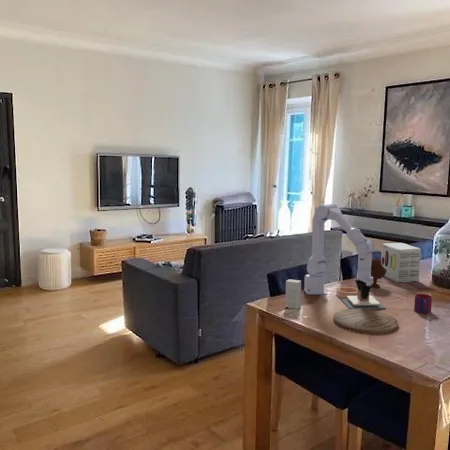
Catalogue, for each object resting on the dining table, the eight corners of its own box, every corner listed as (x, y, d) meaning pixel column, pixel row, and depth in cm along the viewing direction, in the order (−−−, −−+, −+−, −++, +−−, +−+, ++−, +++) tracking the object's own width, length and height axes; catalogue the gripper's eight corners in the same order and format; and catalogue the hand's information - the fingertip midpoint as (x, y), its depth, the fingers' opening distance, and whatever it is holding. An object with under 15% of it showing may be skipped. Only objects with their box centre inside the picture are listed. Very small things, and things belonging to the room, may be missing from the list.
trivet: (320, 320, 189) (320, 316, 189) (359, 309, 204) (359, 304, 204) (371, 340, 170) (372, 335, 169) (410, 325, 184) (411, 321, 184)
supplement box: (379, 274, 261) (381, 243, 259) (400, 273, 264) (402, 242, 262) (397, 283, 245) (399, 249, 242) (419, 281, 248) (421, 248, 245)
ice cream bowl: (389, 289, 232) (390, 260, 230) (366, 289, 232) (368, 260, 230) (382, 283, 243) (384, 255, 240) (361, 283, 243) (362, 255, 241)
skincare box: (301, 306, 206) (301, 280, 204) (298, 309, 202) (299, 282, 200) (287, 304, 208) (288, 278, 207) (284, 307, 205) (285, 281, 203)
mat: (348, 309, 203) (349, 307, 202) (341, 299, 215) (341, 298, 215) (385, 309, 203) (385, 307, 203) (375, 299, 216) (375, 298, 216)
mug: (430, 309, 202) (431, 294, 201) (431, 317, 193) (432, 301, 192) (414, 307, 205) (415, 293, 204) (414, 315, 196) (415, 299, 195)
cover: (353, 305, 203) (354, 294, 202) (346, 297, 215) (346, 287, 214) (380, 305, 203) (380, 294, 202) (371, 297, 215) (372, 287, 214)
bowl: (340, 299, 217) (340, 292, 216) (335, 292, 227) (335, 286, 226) (361, 299, 217) (361, 292, 217) (355, 292, 227) (355, 286, 226)
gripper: (378, 271, 199) (377, 302, 201) (368, 263, 214) (366, 292, 216) (362, 271, 199) (361, 302, 201) (352, 263, 214) (351, 292, 216)
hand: (362, 297), depth 209 cm, fingers closed on cover, 4 cm apart
